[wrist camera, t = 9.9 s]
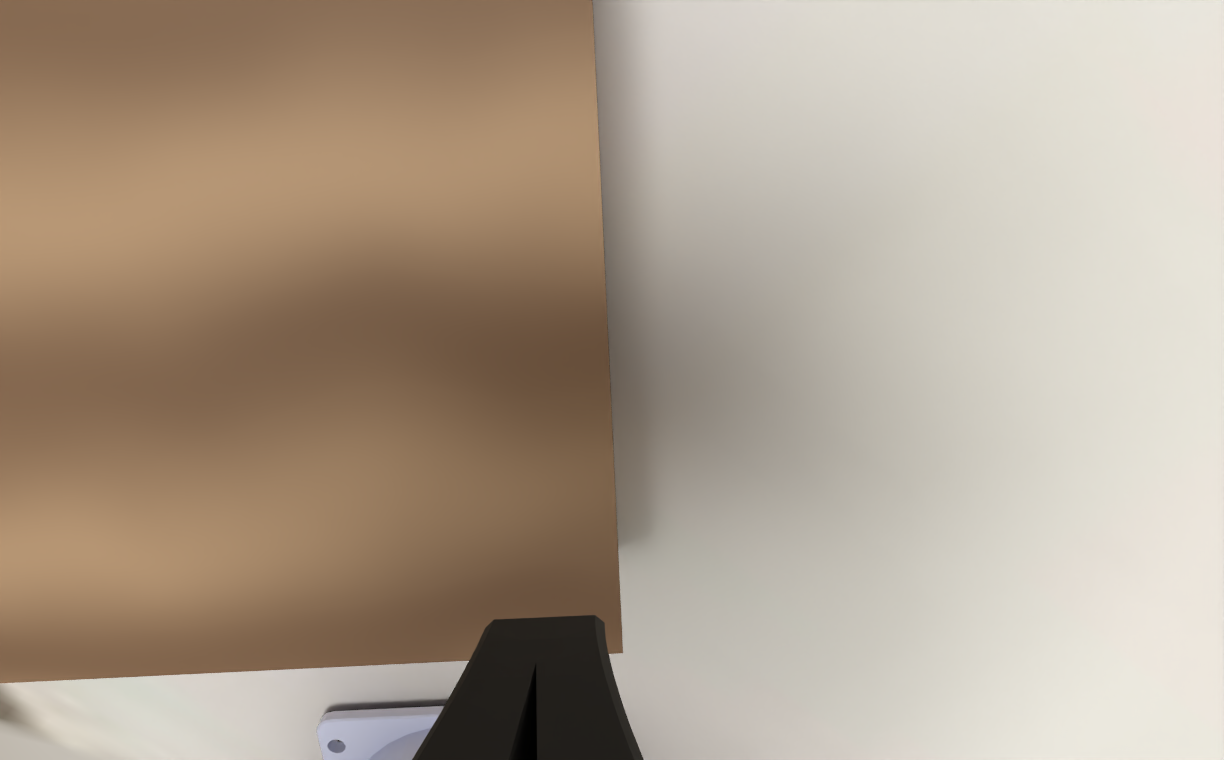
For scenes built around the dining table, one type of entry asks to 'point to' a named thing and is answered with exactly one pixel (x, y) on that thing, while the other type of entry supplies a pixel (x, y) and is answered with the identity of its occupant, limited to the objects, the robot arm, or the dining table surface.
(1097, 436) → the dining table surface
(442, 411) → the brown wooden slab
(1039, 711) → the dining table surface
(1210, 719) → the dining table surface
